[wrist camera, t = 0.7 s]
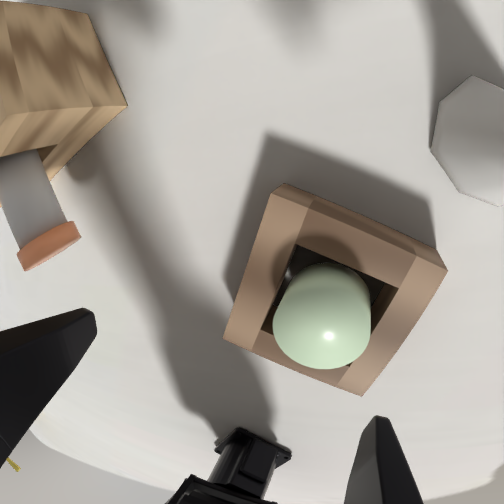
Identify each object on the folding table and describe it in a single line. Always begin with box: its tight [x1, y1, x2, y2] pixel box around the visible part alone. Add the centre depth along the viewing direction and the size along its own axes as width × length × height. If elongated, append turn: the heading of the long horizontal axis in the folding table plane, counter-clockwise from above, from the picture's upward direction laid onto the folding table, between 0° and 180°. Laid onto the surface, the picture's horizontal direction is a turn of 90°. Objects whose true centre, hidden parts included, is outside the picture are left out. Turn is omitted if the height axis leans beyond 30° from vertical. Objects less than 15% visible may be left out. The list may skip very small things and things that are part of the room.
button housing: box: [222, 183, 448, 396], centre depth 19 cm, size 10×10×3 cm
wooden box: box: [0, 1, 128, 207], centre depth 17 cm, size 10×14×10 cm
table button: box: [273, 263, 371, 369], centre depth 17 cm, size 5×5×3 cm
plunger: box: [0, 148, 81, 271], centre depth 18 cm, size 8×5×5 cm, turn 28°
